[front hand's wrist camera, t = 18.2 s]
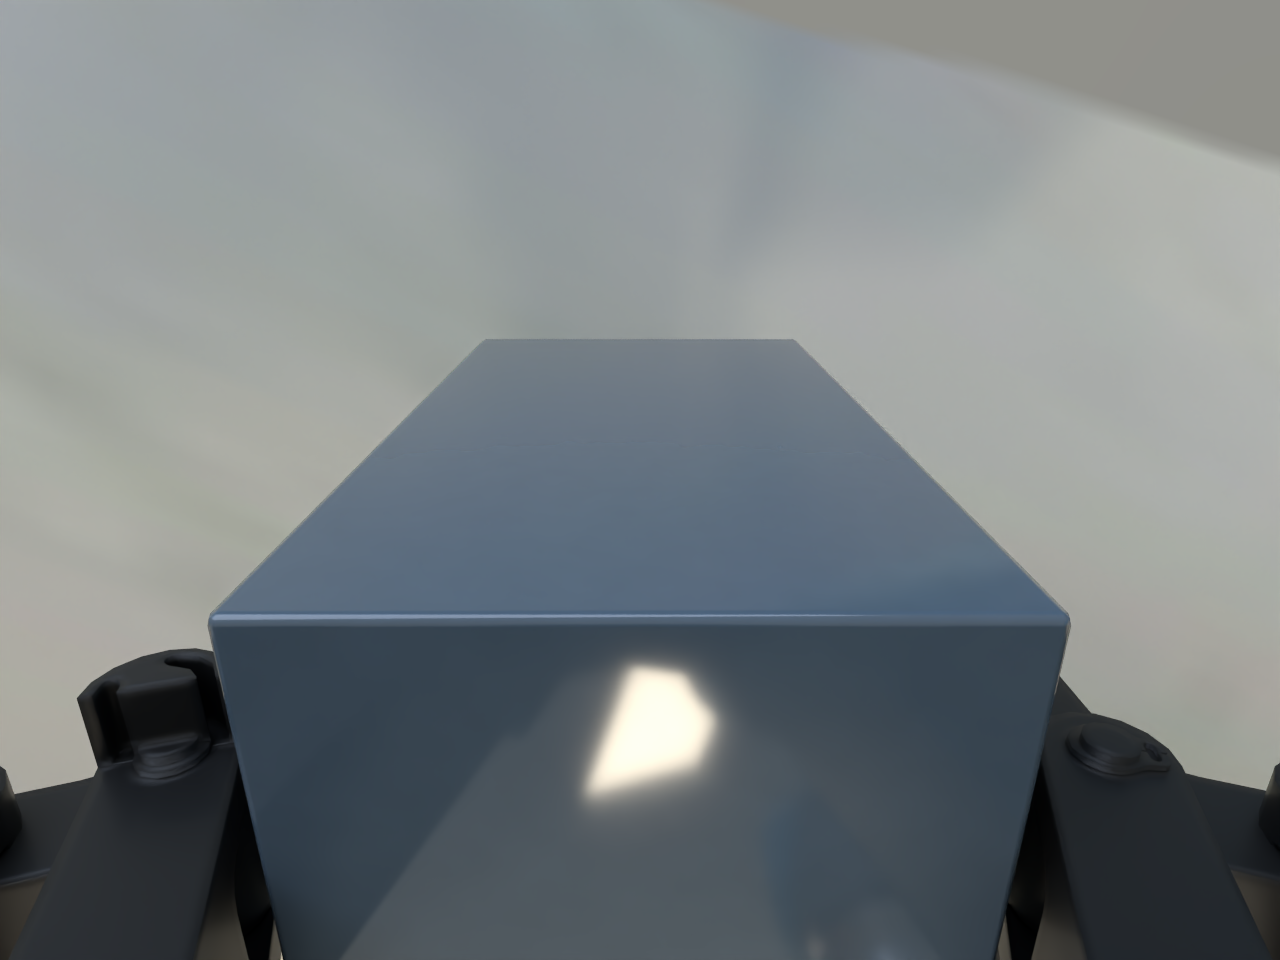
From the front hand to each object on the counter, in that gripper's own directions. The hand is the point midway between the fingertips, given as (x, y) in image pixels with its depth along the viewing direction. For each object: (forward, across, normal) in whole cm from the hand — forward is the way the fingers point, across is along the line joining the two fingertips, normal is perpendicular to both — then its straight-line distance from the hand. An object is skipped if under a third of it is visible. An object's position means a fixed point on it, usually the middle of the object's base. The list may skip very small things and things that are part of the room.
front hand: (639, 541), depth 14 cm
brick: (+2, 0, 0) cm, 2 cm away
